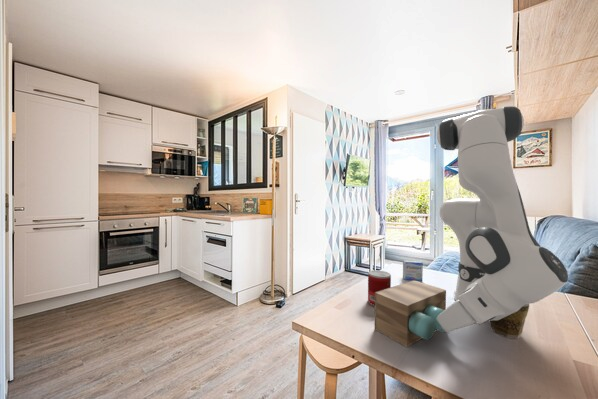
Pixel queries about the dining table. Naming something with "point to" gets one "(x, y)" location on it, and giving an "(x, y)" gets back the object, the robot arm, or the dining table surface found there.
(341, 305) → the dining table surface
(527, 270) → the robot arm
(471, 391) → the dining table surface
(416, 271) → the medicine box
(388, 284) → the canned food
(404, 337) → the block
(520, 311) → the ceramic cup
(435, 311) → the knob
